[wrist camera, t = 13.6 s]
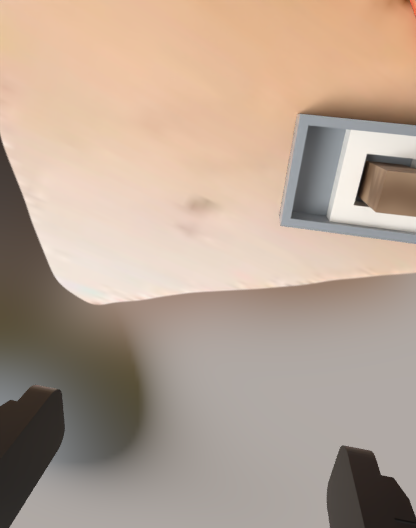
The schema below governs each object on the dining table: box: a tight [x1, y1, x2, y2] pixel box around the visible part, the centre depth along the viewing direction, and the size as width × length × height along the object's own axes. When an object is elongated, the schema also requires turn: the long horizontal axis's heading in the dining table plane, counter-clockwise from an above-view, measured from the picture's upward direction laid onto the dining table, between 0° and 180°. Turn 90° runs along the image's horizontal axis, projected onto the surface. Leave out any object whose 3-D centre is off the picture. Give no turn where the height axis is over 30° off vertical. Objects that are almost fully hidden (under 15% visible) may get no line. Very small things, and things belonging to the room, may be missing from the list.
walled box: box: [279, 114, 416, 244], centre depth 40 cm, size 12×21×4 cm, turn 85°
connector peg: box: [358, 161, 416, 217], centre depth 38 cm, size 4×4×8 cm
